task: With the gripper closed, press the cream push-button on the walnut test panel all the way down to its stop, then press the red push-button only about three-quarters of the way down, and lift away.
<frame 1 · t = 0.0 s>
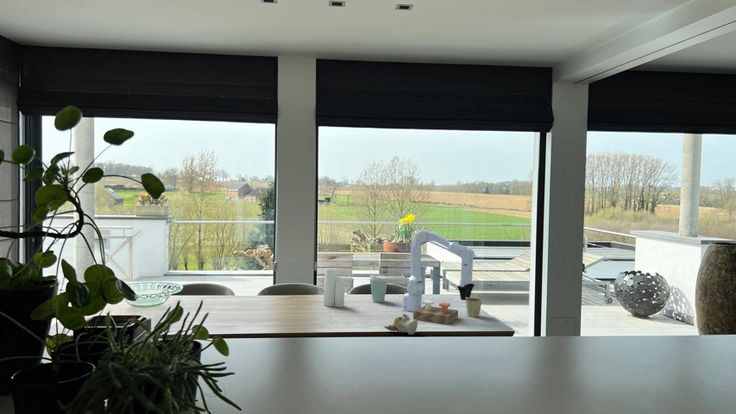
hand: (465, 298, 284), 10 cm above the table, fingers open, 7 cm apart
red button: (444, 308, 279), point 6 cm above the table, slide at 0.0 cm
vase: (333, 305, 303), on the table
flower pot: (473, 316, 291), on the table
cream button: (427, 306, 283), point 6 cm above the table, slide at 0.0 cm
ceramic sculpture: (402, 332, 253), on the table
test panel: (435, 318, 281), on the table
disposable coffee cup: (378, 301, 317), on the table
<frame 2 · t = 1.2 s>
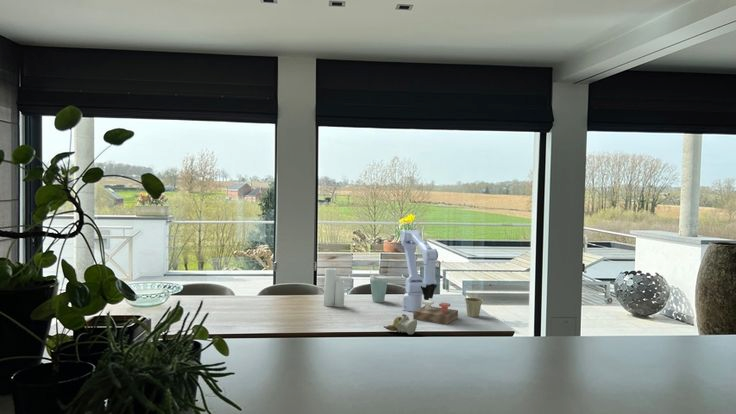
hand: (428, 299, 283), 9 cm above the table, fingers open, 5 cm apart
nothing on the table moved.
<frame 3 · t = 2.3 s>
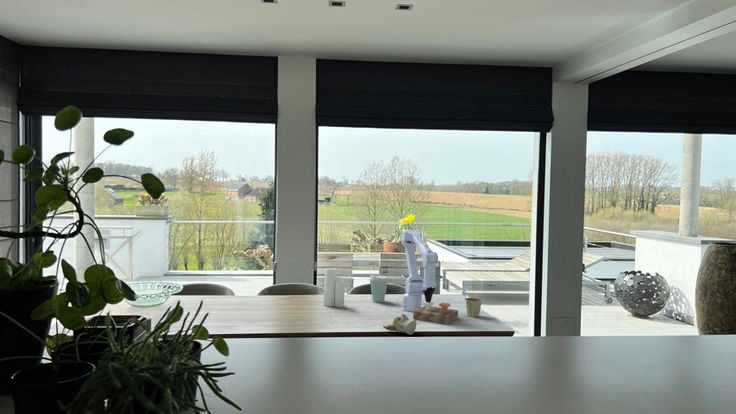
hand: (428, 302, 283), 8 cm above the table, fingers closed, pressing on cream button
cream button: (427, 307, 283), point 5 cm above the table, slide at 0.4 cm, touching gripper
everything else where it was.
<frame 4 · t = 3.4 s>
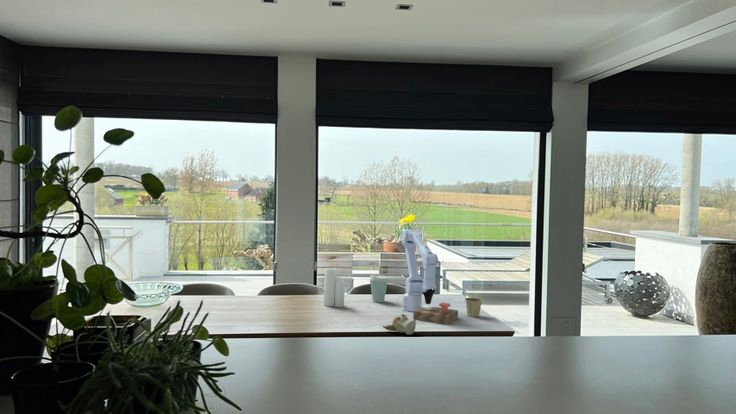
hand: (428, 303, 283), 7 cm above the table, fingers closed
cream button: (427, 311, 283), point 3 cm above the table, slide at 2.7 cm
everything else where it was.
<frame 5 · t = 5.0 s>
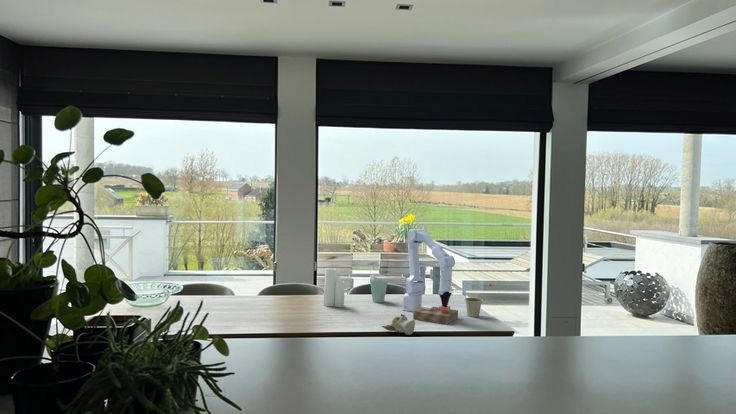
hand: (444, 306, 279), 7 cm above the table, fingers closed, pressing on red button
red button: (444, 311, 279), point 4 cm above the table, slide at 1.4 cm, touching gripper
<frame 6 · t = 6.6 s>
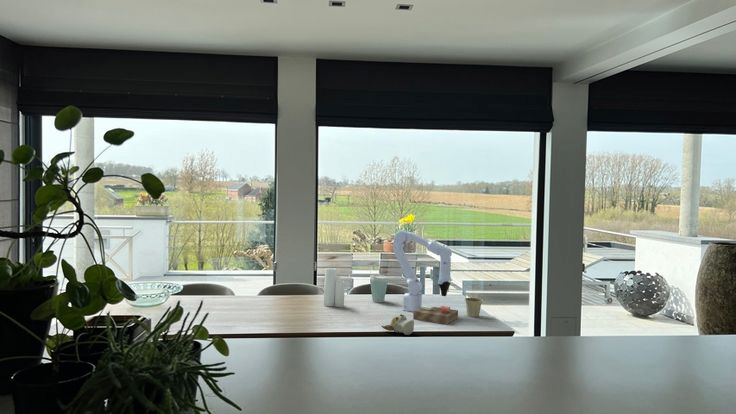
hand: (443, 295, 293), 9 cm above the table, fingers closed
red button: (444, 312, 279), point 4 cm above the table, slide at 1.8 cm
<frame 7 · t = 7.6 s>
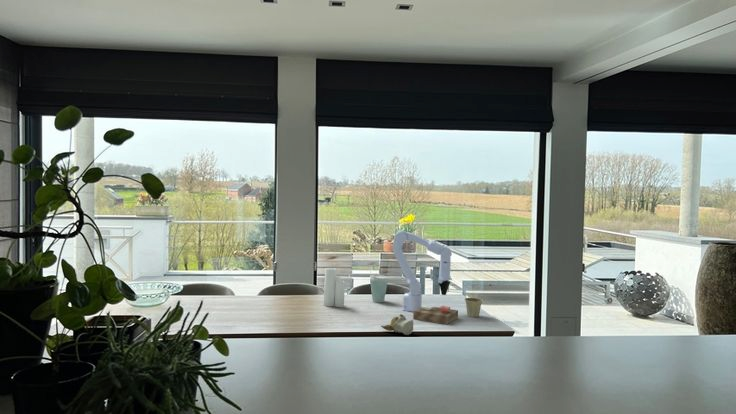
hand: (443, 294, 296), 9 cm above the table, fingers closed
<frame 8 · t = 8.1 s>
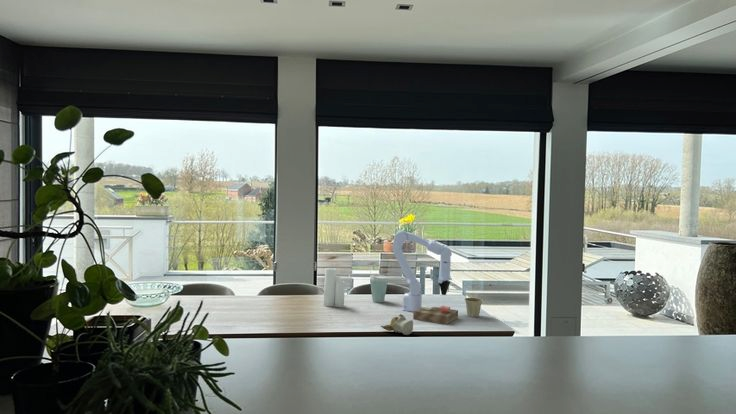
hand: (443, 294, 296), 9 cm above the table, fingers closed
at the end: cream button slide at 2.7 cm; red button slide at 1.8 cm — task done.
